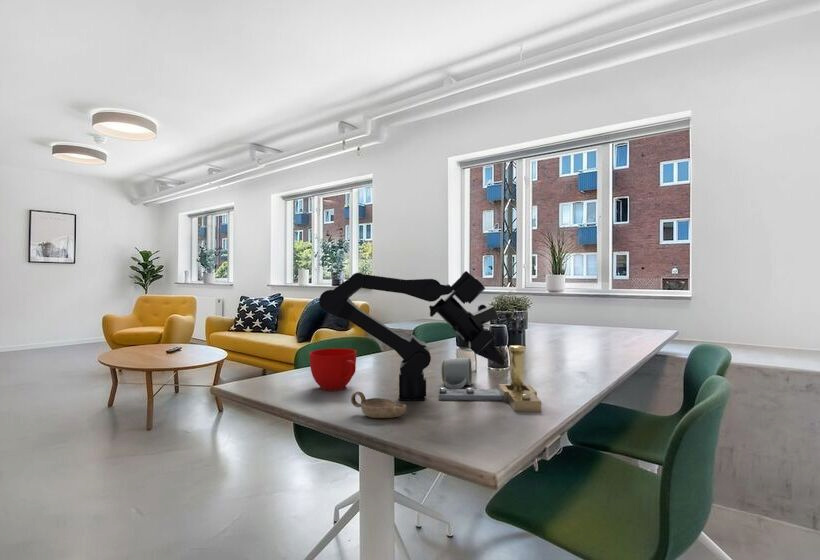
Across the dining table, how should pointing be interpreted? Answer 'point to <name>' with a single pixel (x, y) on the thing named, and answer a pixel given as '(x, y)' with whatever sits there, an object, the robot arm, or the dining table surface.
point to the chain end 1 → (471, 394)
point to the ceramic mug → (456, 372)
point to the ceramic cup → (333, 367)
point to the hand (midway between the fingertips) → (499, 360)
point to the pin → (517, 367)
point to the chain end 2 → (521, 398)
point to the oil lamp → (378, 407)
